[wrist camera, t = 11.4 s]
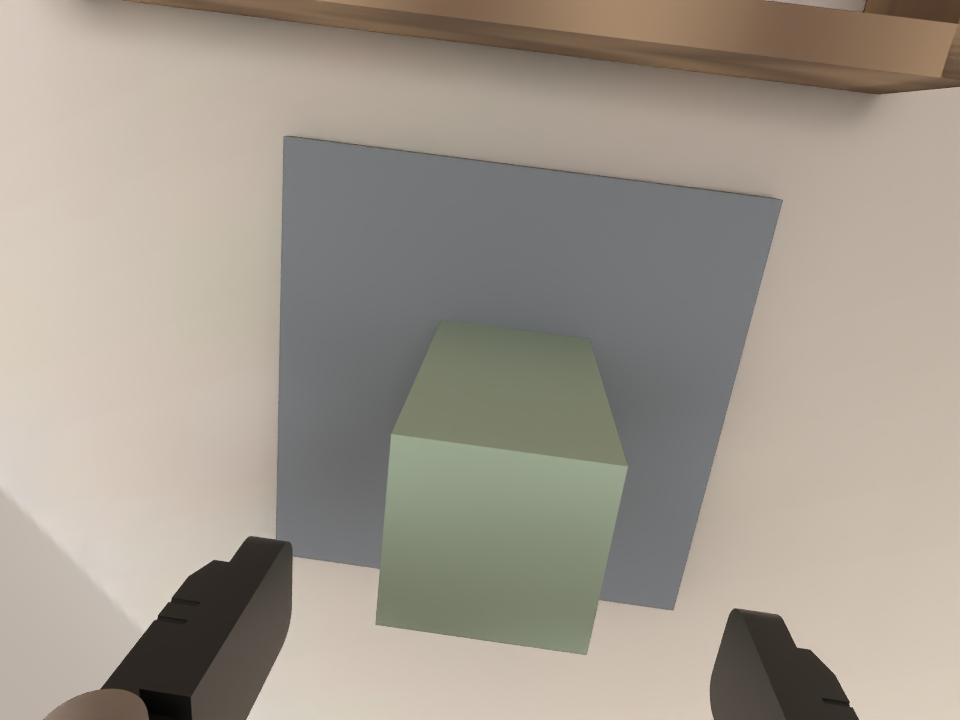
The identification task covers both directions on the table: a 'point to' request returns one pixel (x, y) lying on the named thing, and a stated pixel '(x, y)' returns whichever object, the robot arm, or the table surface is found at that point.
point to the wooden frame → (673, 34)
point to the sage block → (501, 491)
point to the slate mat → (508, 304)
